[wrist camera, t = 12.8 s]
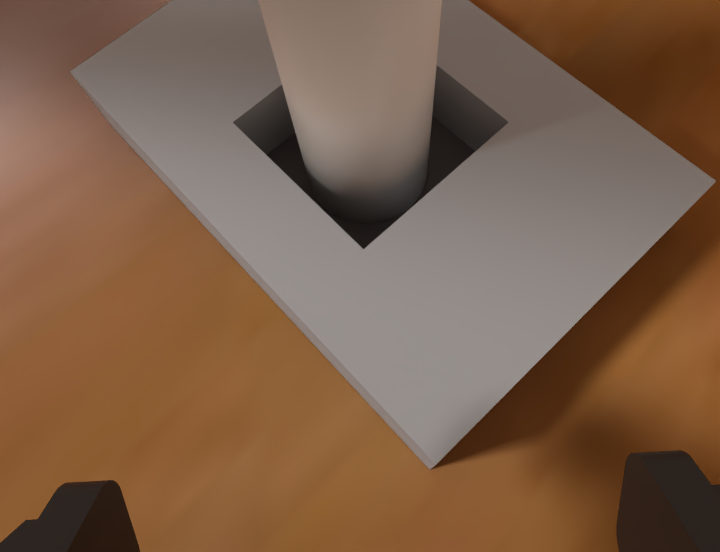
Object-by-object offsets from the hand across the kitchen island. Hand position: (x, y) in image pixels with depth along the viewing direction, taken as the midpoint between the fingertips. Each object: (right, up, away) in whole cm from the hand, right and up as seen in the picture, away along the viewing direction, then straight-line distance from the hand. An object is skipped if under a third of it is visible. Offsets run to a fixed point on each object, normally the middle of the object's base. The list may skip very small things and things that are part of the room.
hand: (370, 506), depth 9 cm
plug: (0, +8, +12) cm, 15 cm away
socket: (0, +8, +13) cm, 15 cm away
